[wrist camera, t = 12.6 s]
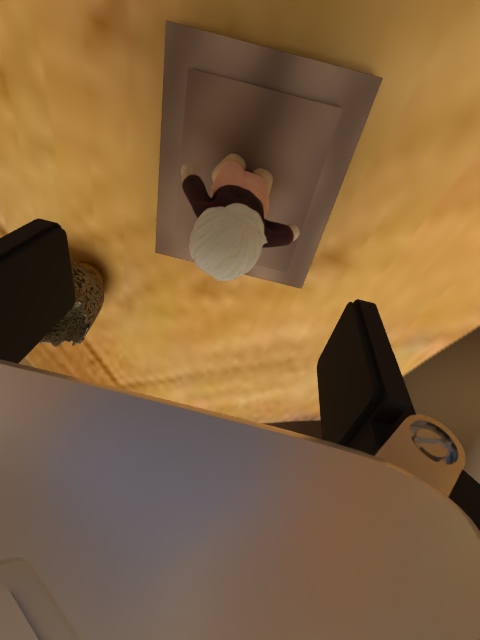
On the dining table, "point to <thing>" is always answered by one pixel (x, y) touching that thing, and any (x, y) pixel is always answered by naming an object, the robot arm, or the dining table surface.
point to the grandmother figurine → (232, 218)
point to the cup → (80, 306)
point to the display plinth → (272, 75)
